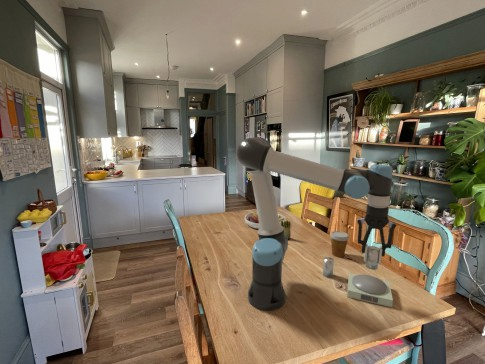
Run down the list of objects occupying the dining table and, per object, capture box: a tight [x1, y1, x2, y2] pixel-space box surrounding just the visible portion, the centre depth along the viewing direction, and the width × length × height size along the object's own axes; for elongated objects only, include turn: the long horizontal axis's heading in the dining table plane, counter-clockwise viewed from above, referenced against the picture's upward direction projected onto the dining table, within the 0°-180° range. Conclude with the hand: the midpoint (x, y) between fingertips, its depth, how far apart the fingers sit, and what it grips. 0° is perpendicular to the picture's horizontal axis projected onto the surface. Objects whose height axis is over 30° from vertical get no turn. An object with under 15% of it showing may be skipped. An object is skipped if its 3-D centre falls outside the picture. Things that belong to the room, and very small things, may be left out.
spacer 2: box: [365, 245, 380, 271], centre depth 103 cm, size 4×4×8 cm
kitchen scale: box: [346, 273, 394, 308], centre depth 108 cm, size 14×16×4 cm
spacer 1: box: [322, 256, 335, 279], centre depth 121 cm, size 4×4×8 cm
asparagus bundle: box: [281, 220, 292, 240], centre depth 162 cm, size 6×5×12 cm
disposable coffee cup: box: [329, 230, 350, 258], centre depth 141 cm, size 10×10×12 cm
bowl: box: [244, 211, 287, 230], centre depth 190 cm, size 30×30×8 cm
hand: (372, 261), depth 103 cm, fingers closed on spacer 2, 4 cm apart
